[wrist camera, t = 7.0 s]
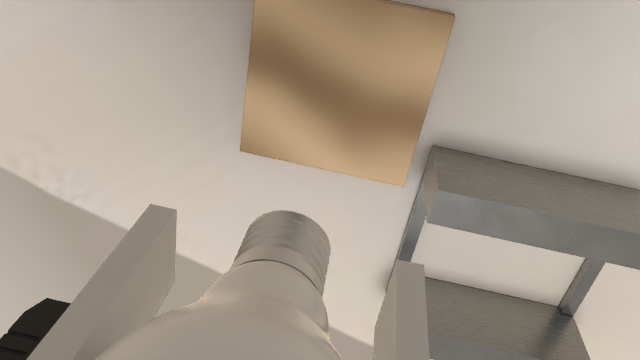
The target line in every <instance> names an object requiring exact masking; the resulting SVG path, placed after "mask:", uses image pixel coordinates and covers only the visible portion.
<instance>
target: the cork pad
mask: <svg viewBox="0 0 640 360" xmlns="http://www.w3.org/2000/svg"><path fill="white" fill-rule="evenodd" d="M454 19H455V15H454V14H449V13H444V12H440V11H435V10H430V9H425V8H420V7H416V6H411V5H406V4H401V3H396V2H391V1H387V0H255V6H254V16H253V26H252V36H251V46H250V56H249V66H248V76H247V86H246V96H245V106H244V116H243V126H242V135H241V145H240V151H242V152H246V153H251V154H255V155H260V156H265V157H269V158H274V159H278V160H283V161H287V162H292V163H296V164H301V165H306V166H310V167H315V168H319V169H324V170H328V171H333V172H337V173H342V174H347V175H351V176H356V177H360V178H365V179H369V180H374V181H378V182H383V183H387V184H392V185H397V186H401V187H404V184H405V181H406V178H407V174H408V171H409V168H410V165H411V161H412V158H413V155H414V151H415V148H416V145H417V141H418V138H419V135H420V132H421V128H422V125H423V122H424V118H425V115H426V112H427V108H428V105H429V102H430V99H431V95H432V92H433V89H434V85H435V82H436V79H437V75H438V72H439V69H440V66H441V62H442V59H443V56H444V52H445V49H446V46H447V42H448V39H449V36H450V32H451V29H452V26H453V23H454Z"/></svg>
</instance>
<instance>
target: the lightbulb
mask: <svg viewBox="0 0 640 360" xmlns="http://www.w3.org/2000/svg"><path fill="white" fill-rule="evenodd" d="M329 257H330V243H329V240H328V237H327V235H326V233H325V232H324V230H323V229H322V228H321V227H320V226H319V225H318V224H317V223H316V222H315V221H313V220H312V219H310V218H309V217H307V216H305V215H303V214H300V213H297V212H293V211H282V210H281V211H273V212H269V213H266V214H263V215H262V216H260V217H258V218H257V219H256V220H255V221H254V222H253V223H252V224H251V225H250V226H249V228H248V230H247V232H246V235H245V237H244V239H243V242H242V244H241V246H240V248H239V251H238V254H237V255H236V257H235V259H234V263H233V264H232V266H231V268H230V270H229V271H227V272H226V273H224V274H223V275H222V276H221V277H219V278H218V279H217V280H216V281H215V282H214V283H213V284H212V285H211V286H210V287H209V289H208V290H207V291H206V292H205V293H204V295H203V296H202V297H201V298H200V299H199V300H198V301H197V302H194V303H191V304H188V305H185V306H182V307H180V308H177V309H174V310H172V311H169V312H167V313H164V314H162V315H160V316H158V317H155V318H153V319H151V320H149V321H147V322H145V323H143V324H141V325H139V326H138V327H136V328H134V329H133V330H131V331H129V332H128V333H126V334H125V335H123V336H122V337H120V338H119V339H118V340H116V341H115V342H114V343H112V344H111V345H110V346H108V347H107V348H106V349H105V350H104V351H103V352H101V353H100V354H99V355H98V356H97V357H96V358H95V359H94V360H343V358H342V357H341V356H340V354H339V353H338V352H337V351H336V349H335V348H334V346H333V345H332V343H331V342H330V336H329V323H328V316H327V312H326V308H325V305H324V302H323V300H322V295H323V290H324V284H325V279H326V274H327V267H328V264H329Z"/></svg>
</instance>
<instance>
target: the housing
mask: <svg viewBox="0 0 640 360" xmlns="http://www.w3.org/2000/svg"><path fill="white" fill-rule="evenodd" d="M426 215H427V223H431V224H436V225H440V226H445V227H449V228H454V229H458V230H463V231H467V232H472V233H476V234H481V235H485V236H490V237H494V238H499V239H503V240H508V241H512V242H517V243H521V244H526V245H530V246H535V247H539V248H544V249H549V250H553V251H558V252H562V253H567V254H571V255H576V256H580V257H585V258H586V260H585V262H584V263H583V265H582V267H581V269H580V270H579V272H578V274H577V275H576V277H575V279H574V281H573V282H572V284H571V286H570V288H569V289H568V291H567V293H566V295H565V296H564V298H563V300H562V302H561V303H560V305H559V307H555V306H551V305H547V304H542V303H538V302H533V301H529V300H524V299H520V298H516V297H511V296H507V295H502V294H498V293H493V292H489V291H484V290H480V289H476V288H471V287H467V286H462V285H458V284H453V283H449V282H444V281H440V280H436V279H431V278H427V277H425V292H426V308H427V324H428V340H429V356H430V359H434V360H590V357H589V355H588V352H587V350H586V347H585V345H584V343H583V340H582V338H581V335H580V333H579V330H578V328H577V325H576V323H575V320H574V318H573V315H574V314H575V312H576V311H577V309H578V307H579V306H580V304H581V302H582V301H583V299H584V297H585V296H586V294H587V292H588V291H589V289H590V287H591V286H592V284H593V282H594V281H595V279H596V277H597V276H598V274H599V272H600V271H601V269H602V267H603V266H604V264H605V262H607V263H612V264H616V265H621V266H625V267H630V268H634V269H639V270H640V190H636V189H631V188H627V187H622V186H618V185H613V184H608V183H604V182H599V181H594V180H590V179H585V178H581V177H576V176H571V175H567V174H562V173H557V172H553V171H548V170H544V169H539V168H534V167H530V166H525V165H520V164H516V163H511V162H507V161H502V160H497V159H493V158H488V157H484V156H479V155H474V154H470V153H465V152H460V151H456V150H451V149H447V148H442V147H437V146H433V147H432V150H431V153H430V156H429V159H428V162H427V165H426V168H425V171H424V174H423V178H422V181H421V184H420V187H419V190H418V193H417V196H416V199H415V202H414V206H413V209H412V212H411V215H410V218H409V221H408V224H407V227H406V230H405V233H404V237H403V240H402V243H401V246H400V249H399V252H398V255H397V258H396V260H397V259H398V260H403V261H407V262H410V261H411V258H412V255H413V252H414V249H415V246H416V243H417V241H418V238H419V235H420V232H421V229H422V226H423V223H424V220H425V217H426ZM395 263H396V261H395ZM394 266H395V265H394ZM393 270H394V268H393ZM392 273H393V271H392ZM391 276H392V274H391ZM390 279H391V277H390ZM389 282H390V280H389ZM388 285H389V283H388ZM387 288H388V286H387ZM386 291H387V289H386Z"/></svg>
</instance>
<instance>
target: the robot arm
mask: <svg viewBox="0 0 640 360" xmlns="http://www.w3.org/2000/svg"><path fill="white" fill-rule="evenodd" d="M176 216H177V210H175V209H171V208H166V207H162V206H157V205H153V204H150V205H149V207H148V208H147V209H146V210H145V212H144V213H143V214H142V215H141V217H140V218H139V219H138V220H137V222H136V223H135V224H134V225H133V227H132V228H131V229H130V230H129V232H128V233H127V234H126V235H125V237H124V238H123V239H122V241H121V242H120V243H119V244H118V245H117V247H116V248H115V249H114V250H113V252H112V253H111V254H110V256H109V257H108V258H107V259H106V260H105V262H104V263H103V264H102V266H101V267H100V268H99V269H98V271H97V272H96V273H95V274H94V275H93V277H92V278H91V279H90V281H89V282H88V283H87V284H86V286H85V287H84V288H83V289H82V291H81V292H80V293H79V294H78V296H77V297H76V298H75V299H74V301H73V302H72V303H71V304H70V303H66V302H62V301H57V300H53V299H49V298H46V299H45V300H43V301H41V302H40V303H38V304H36V305H35V306H33V307H32V308H30V309H28V310H27V311H25V312H24V313H23V314H22V315H21V316H20V317H19V319H18V320H17V321H16V322H15V323H14V324H13V325H12V327H11V328H10V329H9V330H8V333H7V334H4V335H3V337H2V338H1V339H0V360H94V359H95V358H96V357H97V356H98V355H99V354H100V353H101V352H103V351H104V350H105V349H106V348H107V347H108V346H110V345H111V344H112V343H114V342H115V341H116V340H118V339H119V338H120V337H122V336H123V335H125V334H126V333H128V332H129V331H131V330H133V329H134V328H136V327H138V326H139V325H141V324H143V323H145V322H147V321H149V320H151V319H153V318H154V317H155V315H156V313H157V312H158V310H159V308H160V306H161V305H162V303H163V301H164V299H165V298H166V296H167V294H168V293H169V291H170V289H171V287H172V286H173V284H174V282H175V281H174V280H175V250H176ZM373 360H430V356H429V340H428V324H427V308H426V292H425V276H424V265H421V264H416V263H412V262H407V261H403V260H398V259H397V260H396V263H395V266H394V270H393V273H392V276H391V279H390V282H389V285H388V288H387V291H386V294H385V298H384V301H383V304H382V307H381V310H380V313H379V316H378V319H377V322H376V326H375V332H374V350H373Z"/></svg>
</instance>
